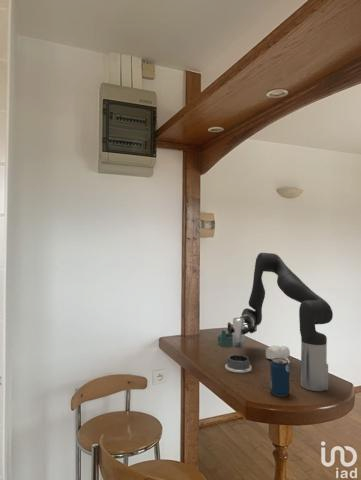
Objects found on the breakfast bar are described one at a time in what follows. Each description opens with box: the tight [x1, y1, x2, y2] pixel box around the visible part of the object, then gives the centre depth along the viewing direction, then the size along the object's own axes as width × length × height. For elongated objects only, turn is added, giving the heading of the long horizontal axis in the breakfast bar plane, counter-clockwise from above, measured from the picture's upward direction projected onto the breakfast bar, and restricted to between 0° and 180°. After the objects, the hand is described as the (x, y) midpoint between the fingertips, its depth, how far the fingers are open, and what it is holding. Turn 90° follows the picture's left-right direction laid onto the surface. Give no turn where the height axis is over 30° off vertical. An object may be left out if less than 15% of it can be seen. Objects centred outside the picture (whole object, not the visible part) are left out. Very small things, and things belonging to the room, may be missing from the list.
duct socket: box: [224, 354, 253, 374], centre depth 155 cm, size 12×12×4 cm
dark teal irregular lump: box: [217, 329, 233, 348], centre depth 192 cm, size 9×9×9 cm
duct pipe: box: [232, 317, 245, 349], centre depth 155 cm, size 5×5×12 cm
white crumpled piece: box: [265, 345, 291, 364], centre depth 164 cm, size 9×8×15 cm
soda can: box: [269, 358, 291, 397], centre depth 129 cm, size 7×7×12 cm
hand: (237, 331), depth 153 cm, fingers closed on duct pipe, 5 cm apart
